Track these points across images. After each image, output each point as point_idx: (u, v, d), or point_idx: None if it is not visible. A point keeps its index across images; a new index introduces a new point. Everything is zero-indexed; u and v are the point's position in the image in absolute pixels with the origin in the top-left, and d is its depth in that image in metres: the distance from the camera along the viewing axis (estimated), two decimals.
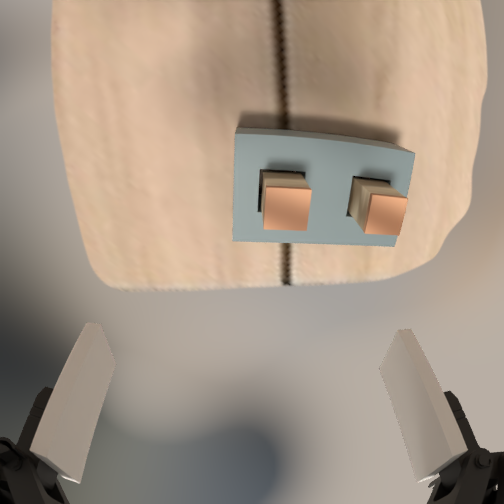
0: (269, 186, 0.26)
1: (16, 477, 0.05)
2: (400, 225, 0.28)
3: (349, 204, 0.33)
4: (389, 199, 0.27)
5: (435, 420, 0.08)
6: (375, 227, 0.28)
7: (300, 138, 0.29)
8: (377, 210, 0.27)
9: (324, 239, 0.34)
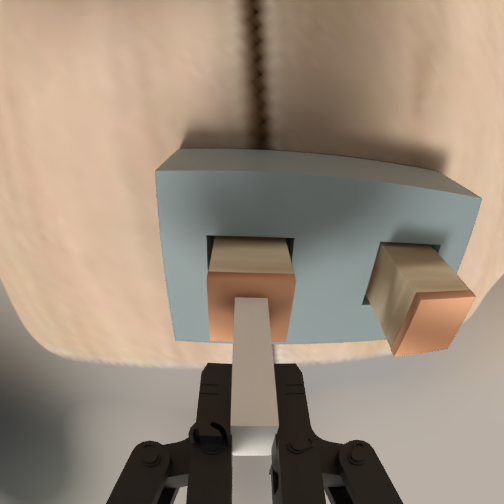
0: (212, 275, 0.14)
1: (205, 461, 0.07)
2: (453, 336, 0.14)
3: (368, 284, 0.19)
4: (446, 303, 0.13)
5: None
6: (413, 346, 0.14)
7: (284, 175, 0.15)
8: (423, 322, 0.13)
9: (323, 337, 0.21)
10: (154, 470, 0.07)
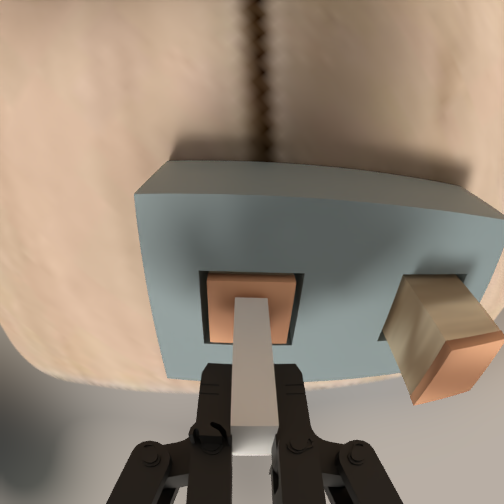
0: (213, 276, 0.14)
1: (205, 461, 0.07)
2: (477, 378, 0.11)
3: None
4: (477, 349, 0.10)
5: None
6: (435, 393, 0.11)
7: (294, 200, 0.12)
8: (449, 371, 0.10)
9: (332, 374, 0.18)
10: (154, 470, 0.07)
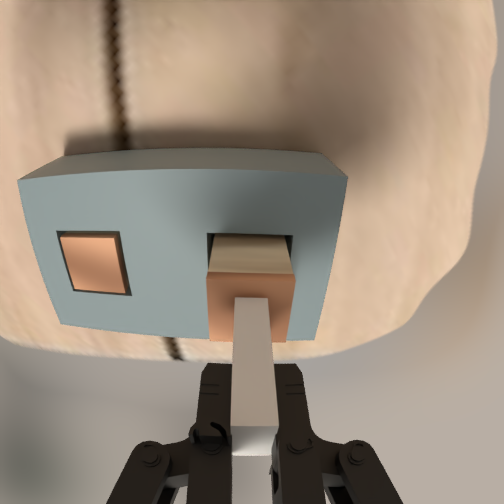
0: (65, 235, 0.17)
1: (205, 461, 0.07)
2: (285, 327, 0.15)
3: None
4: (247, 285, 0.14)
5: None
6: (229, 332, 0.15)
7: (98, 174, 0.15)
8: (224, 305, 0.14)
9: (181, 331, 0.20)
10: (154, 470, 0.07)
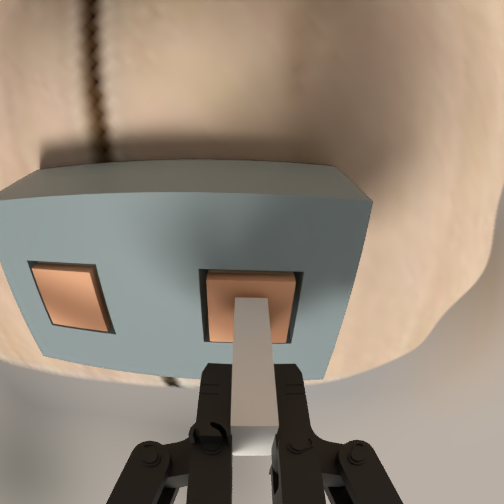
0: (37, 265, 0.13)
1: (205, 461, 0.07)
2: (285, 327, 0.15)
3: None
4: (248, 286, 0.14)
5: None
6: (229, 332, 0.15)
7: (67, 197, 0.12)
8: (225, 305, 0.14)
9: (173, 371, 0.17)
10: (154, 470, 0.07)
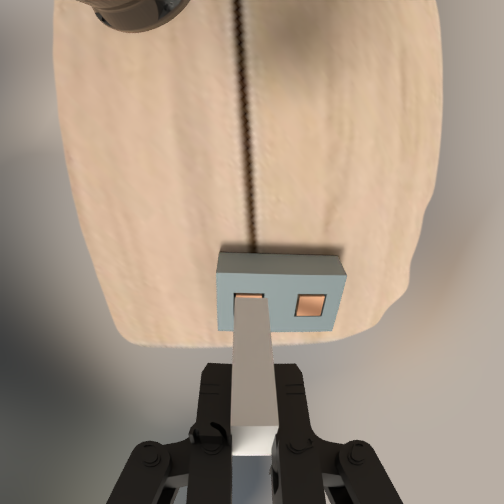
0: (237, 294, 0.47)
1: (205, 461, 0.07)
2: (320, 310, 0.48)
3: None
4: (311, 298, 0.47)
5: None
6: (303, 312, 0.49)
7: (260, 274, 0.45)
8: (303, 304, 0.48)
9: (279, 329, 0.51)
10: (154, 470, 0.07)
